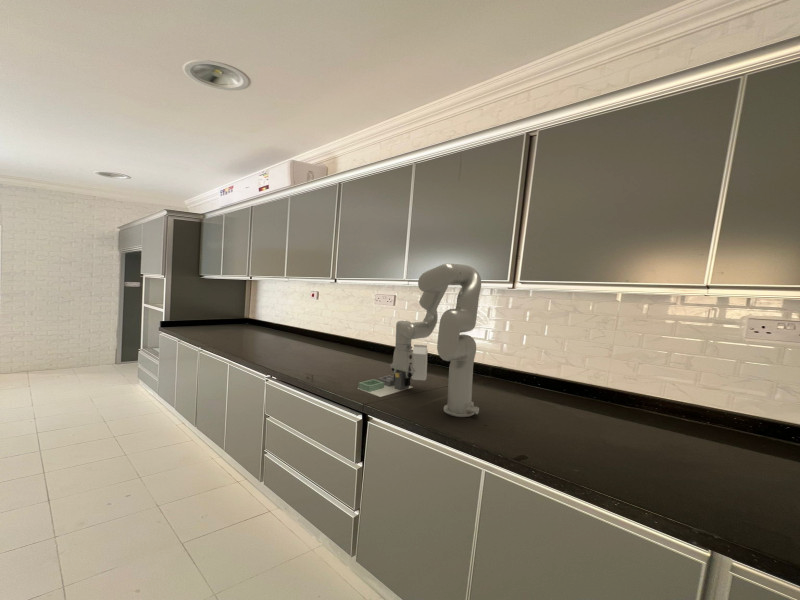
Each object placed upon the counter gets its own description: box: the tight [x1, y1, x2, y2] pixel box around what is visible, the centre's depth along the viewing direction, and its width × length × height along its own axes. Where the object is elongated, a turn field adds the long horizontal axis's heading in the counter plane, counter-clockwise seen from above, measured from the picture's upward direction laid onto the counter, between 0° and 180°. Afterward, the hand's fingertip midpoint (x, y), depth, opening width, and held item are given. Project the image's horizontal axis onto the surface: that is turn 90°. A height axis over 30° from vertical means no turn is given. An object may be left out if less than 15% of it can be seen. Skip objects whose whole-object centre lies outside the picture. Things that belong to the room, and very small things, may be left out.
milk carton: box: [411, 344, 429, 382], centre depth 186 cm, size 7×7×19 cm
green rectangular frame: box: [358, 378, 384, 393], centre depth 166 cm, size 8×10×3 cm
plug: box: [394, 371, 410, 391], centre depth 167 cm, size 4×7×8 cm, turn 137°
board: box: [357, 374, 413, 398], centre depth 167 cm, size 16×22×4 cm
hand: (401, 383), depth 168 cm, fingers open, 6 cm apart
